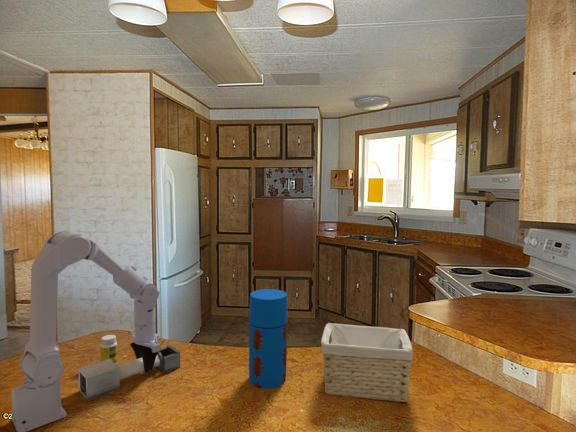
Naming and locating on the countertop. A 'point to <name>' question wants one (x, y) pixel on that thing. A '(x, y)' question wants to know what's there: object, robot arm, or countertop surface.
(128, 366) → the tube
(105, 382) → the sleeve
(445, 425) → the countertop surface
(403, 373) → the storage basket
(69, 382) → the countertop surface
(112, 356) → the supplement bottle
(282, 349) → the thermos
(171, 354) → the socket
